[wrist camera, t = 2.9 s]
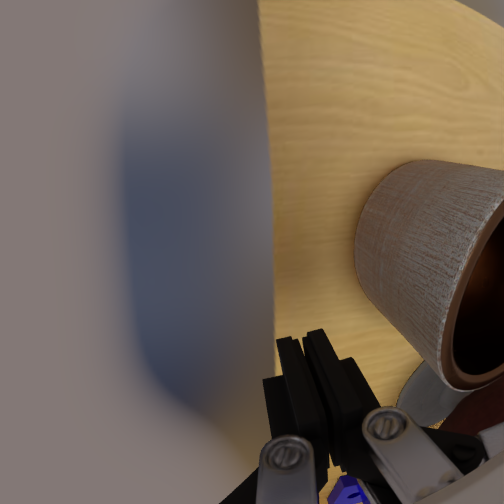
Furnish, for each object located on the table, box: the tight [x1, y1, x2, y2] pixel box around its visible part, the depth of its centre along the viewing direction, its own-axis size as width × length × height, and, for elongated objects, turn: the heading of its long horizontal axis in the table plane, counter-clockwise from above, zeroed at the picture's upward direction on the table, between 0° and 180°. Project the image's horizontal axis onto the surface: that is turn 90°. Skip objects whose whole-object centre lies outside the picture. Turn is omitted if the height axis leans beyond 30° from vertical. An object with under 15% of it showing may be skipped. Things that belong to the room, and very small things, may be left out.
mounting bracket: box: [327, 475, 371, 504], centre depth 26 cm, size 18×7×6 cm, turn 87°
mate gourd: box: [397, 361, 504, 436], centre depth 14 cm, size 16×14×20 cm
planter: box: [354, 160, 504, 392], centre depth 14 cm, size 11×11×10 cm
